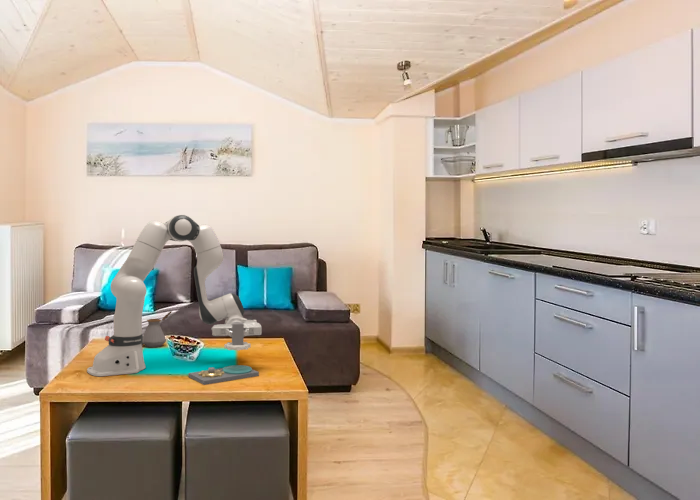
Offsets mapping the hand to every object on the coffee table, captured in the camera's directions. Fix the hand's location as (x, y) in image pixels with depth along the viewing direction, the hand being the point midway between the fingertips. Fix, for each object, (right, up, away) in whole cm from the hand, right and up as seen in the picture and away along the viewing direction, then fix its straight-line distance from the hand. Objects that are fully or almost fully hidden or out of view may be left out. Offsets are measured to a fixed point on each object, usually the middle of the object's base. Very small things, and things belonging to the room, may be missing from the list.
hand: (237, 333), depth 247 cm
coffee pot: (-49, -13, +56) cm, 76 cm away
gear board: (-5, -17, -2) cm, 18 cm away
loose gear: (0, -6, +1) cm, 6 cm away
